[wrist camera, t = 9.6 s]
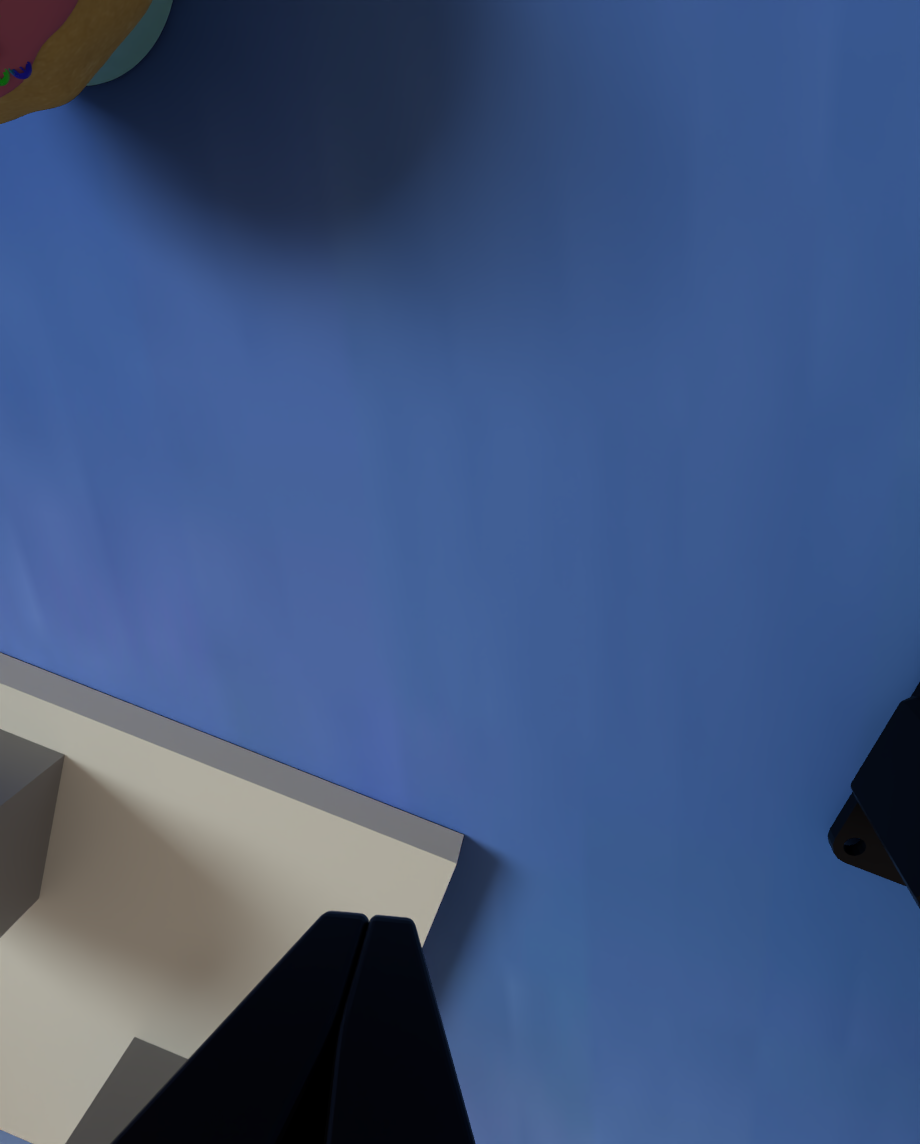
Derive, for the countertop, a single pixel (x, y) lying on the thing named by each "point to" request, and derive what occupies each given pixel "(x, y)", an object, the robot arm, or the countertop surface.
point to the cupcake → (70, 47)
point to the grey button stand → (161, 893)
